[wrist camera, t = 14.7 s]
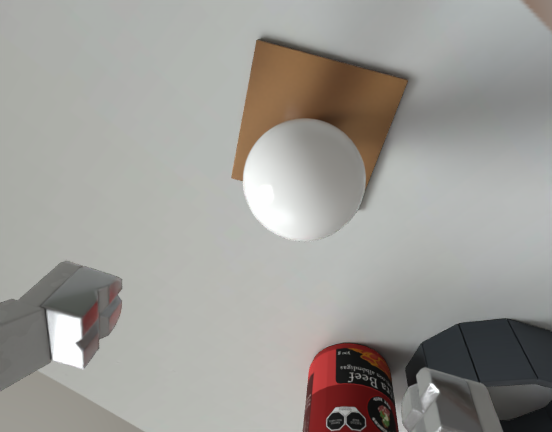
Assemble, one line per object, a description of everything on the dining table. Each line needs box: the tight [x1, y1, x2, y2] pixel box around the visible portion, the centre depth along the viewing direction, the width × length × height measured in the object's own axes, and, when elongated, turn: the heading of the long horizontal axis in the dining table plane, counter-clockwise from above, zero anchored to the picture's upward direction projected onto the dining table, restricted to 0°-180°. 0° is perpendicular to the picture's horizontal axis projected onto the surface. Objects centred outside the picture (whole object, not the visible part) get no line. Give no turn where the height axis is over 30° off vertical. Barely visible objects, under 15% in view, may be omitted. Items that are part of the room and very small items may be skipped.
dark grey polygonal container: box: [405, 319, 552, 432], centre depth 33 cm, size 14×14×6 cm
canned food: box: [303, 343, 399, 432], centre depth 33 cm, size 8×8×11 cm
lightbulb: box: [243, 118, 366, 241], centre depth 22 cm, size 6×6×11 cm
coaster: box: [231, 40, 408, 213], centre depth 27 cm, size 10×10×1 cm
